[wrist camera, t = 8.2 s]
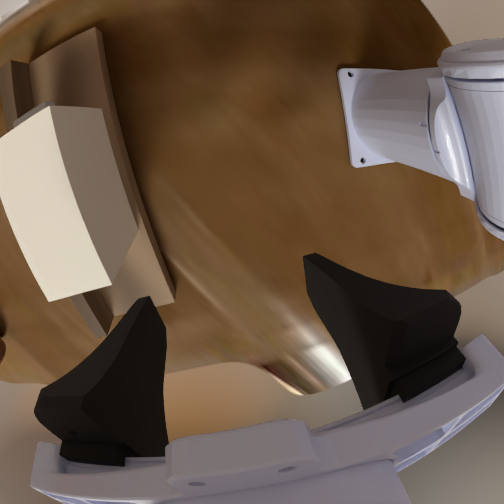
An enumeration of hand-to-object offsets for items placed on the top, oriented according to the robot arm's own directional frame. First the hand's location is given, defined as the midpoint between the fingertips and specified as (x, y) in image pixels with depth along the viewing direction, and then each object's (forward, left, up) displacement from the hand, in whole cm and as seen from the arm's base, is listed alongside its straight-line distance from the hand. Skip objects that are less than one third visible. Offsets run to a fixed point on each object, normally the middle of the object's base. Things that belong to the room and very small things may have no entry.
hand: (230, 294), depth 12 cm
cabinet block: (+8, -6, -8) cm, 13 cm away
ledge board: (+9, -6, -9) cm, 14 cm away
